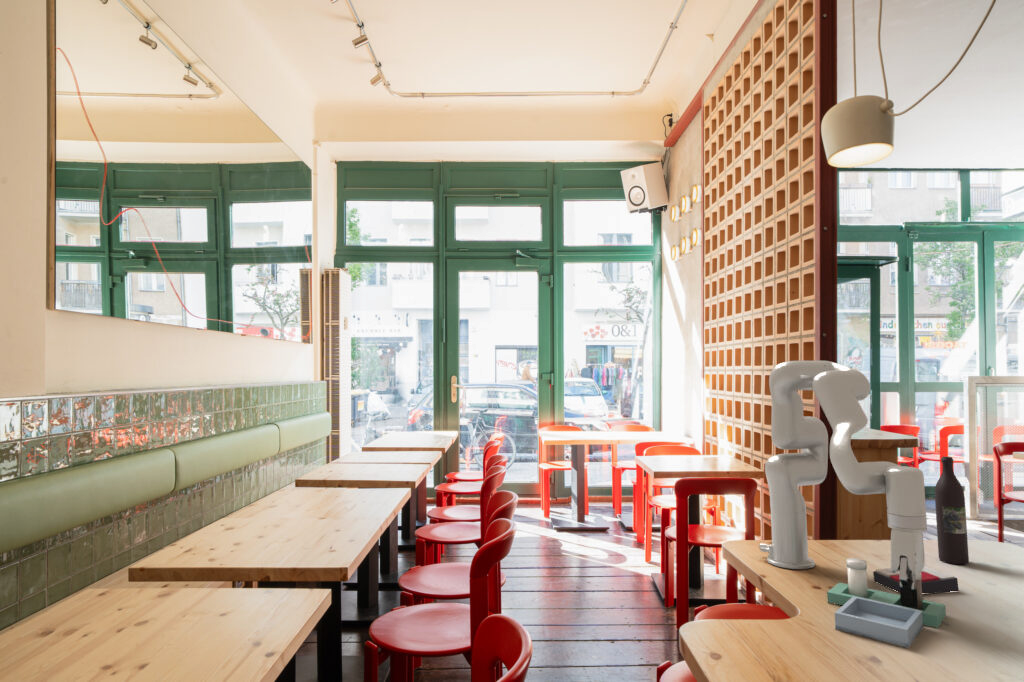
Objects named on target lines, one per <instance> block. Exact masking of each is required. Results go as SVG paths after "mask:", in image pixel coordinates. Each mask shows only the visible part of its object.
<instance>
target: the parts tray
mask: <svg viewBox="0 0 1024 682" xmlns="http://www.w3.org/2000/svg"><path fill="white" fill-rule="evenodd" d="M834 627H835V630H837V631H841V632H845V633H848V634H852V635H857V636H860V637H864V638H868V639H871V640H875V641H880V642H882V643H883V642H884V643H887V644H892V645H895V646H900V647H903V648H906V649H908V648H910V646H911V645H912V644H913V642H914V641H915V640H916V638H917V636H918V635H920V632H921V631H922V630H923V629H924V625H923V616H922V611H920V610H916V609H911V608H906V607H902V606H897V605H893V604H888V603H883V602H879V601H874V600H870V599H865V598H860V597H856V596H853V597H852V598H851V599H850V600H848V601H847V602H846V603H845V604H844V605H843V606H840V607H839V608H838V609H837V610H836V611H835V612H834Z"/></svg>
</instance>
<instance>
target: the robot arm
mask: <svg viewBox="0 0 1024 682" xmlns="http://www.w3.org/2000/svg"><path fill="white" fill-rule="evenodd" d="M768 385H769V392H770V397H771V398H770V399H771V420H770V422H771V423H770V424H771V425H770V426H771V427H770V431H771V432H770V433H771V434H770V435H771V441H772V444H773V445H774V447H775V448H778V449H780V450H786V451H787V450H793V451H794V450H801V452H791V453H790V452H789V453H788V452H787V453H786V452H785V453H779V454H775V455H772V456H770V457H769V458H768V459H767V460H766V462H765V465H764V470H765V471H764V473H765V477H766V480H767V486H768V491H769V506H770V525H771V543H770V544H766V543H763V542H761V543H759V545H758V548H759V551H760V552H763V553H767V554H768V555H767V556H766V557H767V563H769V564H770V565H773V566H775V567H779V568H783V569H790V570H806V569H808V570H809V569H812V568H814V567H815V565H816V563H815V560H814V559H813V558H812V557H809V545H808V544H809V543H808V540H809V539H808V526H807V523H808V522H807V505H806V499H805V497H804V496H803V494H802V493H801V491H800V490H799V488H798V487H802V486H816V485H820V484H822V483H823V482H824V481H825V479H826V478H827V475H828V459H830V463H831V464H832V468H833V470H834V472H835V474H836V476H837V478H838V479H839V481H840V483H841V485H842V486H843V488H844V489H845V490H847V491H848V492H849V493H851V494H852V495H856V496H857V495H858V496H861V495H873V494H874V495H876V494H881V495H882V494H885V495H886V497H885V498H886V511H887V512H886V513H887V527H888V528H890V529H891V532H890V568H891V571H892V572H893V573H896V572H897V571H898V570H899V569H900V575H899V579H900V593H899V595H900V598H901V604H902V605H904V606H908V607H913V608H917V607H918V597H917V589H915V576H916V575H918V574H919V573H920V572H921V571H922V570H923V568H924V565H925V563H926V561H925V545H924V534H923V532H926V531H928V522H927V520H928V519H927V508H926V506H927V505H926V491H925V476H924V473H923V471H922V470H921V469H920V468H918V467H913V466H908V465H906V466H905V465H904V466H903V465H899V464H897V463H894V462H891V461H885V460H884V461H883V460H882V461H864V462H863V461H862V462H859V461H858V460H857V458H856V456H855V454H854V452H853V449H852V446H851V443H852V441H851V440H852V436H853V435H854V434H857V433H858V432H860V431H861V430H862V429H864V428H865V427H866V426H867V424H868V417H867V415H866V413H865V411H864V409H863V407H862V406H861V404H860V403H859V401H864V400H865V399H866V398H867V397H868V396H869V394H870V392H871V385H870V381H869V380H868V378H867V376H866V375H865V374H864V373H862V372H861V371H859V370H858V369H855V368H851V367H848V366H846V365H843V364H840V363H837V362H834V361H829V360H788V361H783V362H781V363H777V364H776V365H774V367H773V368H772V369H771V371H770V373H769V379H768ZM798 391H813V393H814V395H815V397H816V399H817V400H818V403H819V404H820V407H821V409H822V411H823V413H824V415H825V417H826V418H827V421H828V423H829V425H830V427H831V429H832V435H831V437H830V442H829V434H828V429H827V427H826V425H825V423H824V422H823V421H822V420H821V419H819V418H818V417H816V416H812V415H811V416H808V415H807V416H805V415H804V408H805V407H804V402H803V399H802V397H801V395H800V393H799V392H798ZM907 572H912V573H911V574H912V575H911V574H907ZM908 577H910V578H911V580H910V579H908ZM921 587H922V584H921ZM923 600H924V597H923V595H922V601H923Z"/></svg>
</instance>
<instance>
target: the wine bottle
mask: <svg viewBox="0 0 1024 682" xmlns="http://www.w3.org/2000/svg"><path fill="white" fill-rule="evenodd" d="M940 462H941V464H942V465H941V466H942V471H941V474H940V476H939V479H938V480H937V482H936V484H935V486H934V503H935V506H934V507H935V516H936V517H935V518H936V533H937V534H936V535H937V536H936V537H937V550H938V551H937V552H938V559H939V560H940V561H941V562H944V563H945V562H946V564H949V563H951V564H950V565H956V564H958V565H959V566H960V565H961V566H962V565H964V564H965V565H967V564H969V563H970V558H969V544H968V543H969V542H968V530H967V529H968V527H967V514H966V497H965V491H964V488H963V485H962V484H961V482H960V481H959V479H958V478H957V476H956V475H955V472H954V467H953V466H954V458H953V457H952V456H941V458H940ZM958 565H957V566H958Z"/></svg>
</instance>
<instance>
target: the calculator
mask: <svg viewBox="0 0 1024 682" xmlns="http://www.w3.org/2000/svg"><path fill="white" fill-rule="evenodd" d="M872 574H873V582H874V581H875V582H874V583H876V582H878V583H880V584H882V585H881V586H883V585H884V586H883V587H885V586H887V587H889V588H891V589H894V590H896V591H898V592H900V579H899V570H898V571H897V572H896V573H893V572H892V571H891V567H885V568H878V569H875V570H874V571H873V572H872ZM878 583H877V584H878ZM880 584H879V585H880ZM921 584H922V593H933V594H936V593H935V592H940V593H943V592H950V591H960V589H959V581H958V578H957V577H955V576H954V575H951V574H949V573H946V572H943V571H940V570H938V569H936V568H933V567H930V566H928V565H926V564H924V568H923V570H922V571H921ZM887 587H886V588H887ZM889 588H888V589H889ZM891 589H890V590H891ZM894 590H893V591H894ZM896 591H895V592H896ZM898 592H897V593H898Z"/></svg>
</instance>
